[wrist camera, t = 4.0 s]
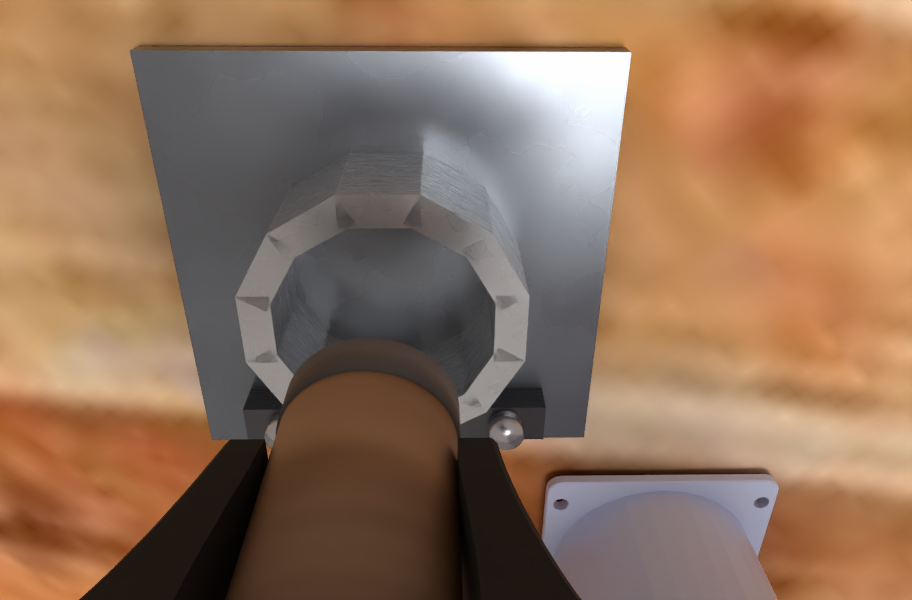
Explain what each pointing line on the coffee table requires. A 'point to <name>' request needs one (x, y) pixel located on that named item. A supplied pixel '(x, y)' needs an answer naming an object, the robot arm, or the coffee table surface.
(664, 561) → the robot arm
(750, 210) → the coffee table surface
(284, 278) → the cup bracket
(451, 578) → the dowel
